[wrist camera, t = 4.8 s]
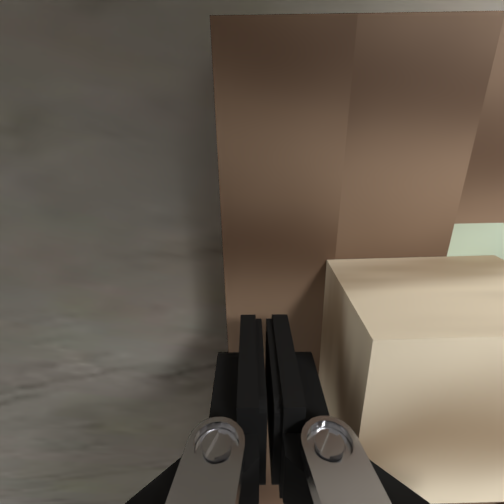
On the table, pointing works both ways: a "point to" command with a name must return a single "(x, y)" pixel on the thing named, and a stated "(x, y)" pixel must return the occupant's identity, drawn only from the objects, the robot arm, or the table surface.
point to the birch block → (420, 369)
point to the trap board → (351, 153)
